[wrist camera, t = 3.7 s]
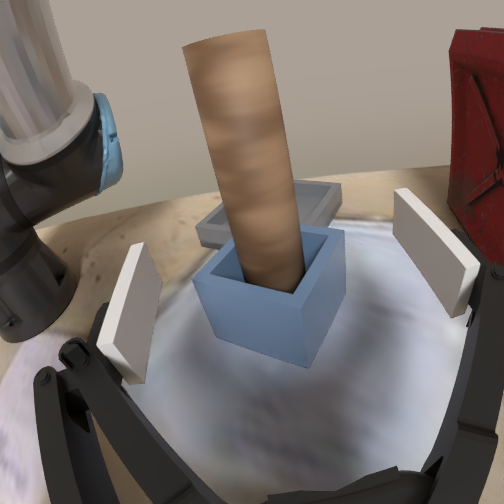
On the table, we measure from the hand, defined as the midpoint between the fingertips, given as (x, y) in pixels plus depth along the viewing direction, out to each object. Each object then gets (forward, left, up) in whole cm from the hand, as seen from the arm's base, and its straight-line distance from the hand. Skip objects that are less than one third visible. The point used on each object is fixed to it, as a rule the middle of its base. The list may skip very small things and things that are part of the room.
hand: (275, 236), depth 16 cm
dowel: (-4, +5, -12) cm, 14 cm away
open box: (-4, +5, -13) cm, 15 cm away
